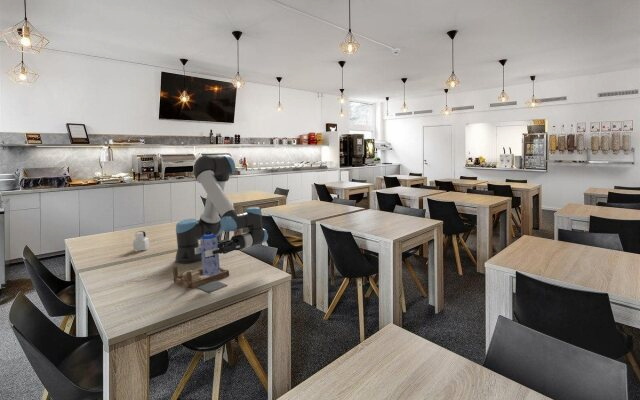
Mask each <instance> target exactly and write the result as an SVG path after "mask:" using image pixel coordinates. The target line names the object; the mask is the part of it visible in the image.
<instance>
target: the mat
mask: <svg viewBox="0 0 640 400" xmlns="http://www.w3.org/2000/svg"><path fill="white" fill-rule="evenodd" d="M225 287H228V284H227V283H224V282H221V281H218V280H214V281H211V282H209V283H206V284H203V285H200V286H198V287H196V289H199V290H202V291H204V292H206V293H208V294H210V293H212V292H215V291H218V290H220V289H223V288H225Z"/></svg>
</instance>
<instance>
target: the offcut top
mask: <svg viewBox="0 0 640 400" xmlns="http://www.w3.org/2000/svg"><path fill="white" fill-rule="evenodd" d="M188 271H190V272H191V276H192V280H193V279H196V278H198V277H201V275H200V272H199V271H196V270H194V269H193V270H192V269H190V270H187V271H185V272H183V273H182V275H183V278H184V279H187V273H186V272H188Z"/></svg>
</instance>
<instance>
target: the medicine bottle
mask: <svg viewBox="0 0 640 400" xmlns="http://www.w3.org/2000/svg"><path fill="white" fill-rule="evenodd" d="M134 236H135V237H134V238H135V239H133V240H132V245H133V251H134V252H136V251H135V250H146V249H147V248H148V249H150V241H149V240H150V239H149V237H146V236H147V235H146V231H144V230H143V231H142V230H140V231H136V232H135V233H134ZM148 249H147V250H148ZM147 250H146V251H147Z"/></svg>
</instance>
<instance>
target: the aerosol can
mask: <svg viewBox="0 0 640 400" xmlns="http://www.w3.org/2000/svg"><path fill="white" fill-rule="evenodd" d="M218 241H219V240H218V235H217V236H215V234H212V233H211V231H206V234H204V235H203V236H202V237H201V239H200V240H199V242H200V247H201V254H202V259H201V263H202V264H201V265H202V268H203V274H202V276H205V277H209V276H214V275H217V274H219V273H220V268H221V266H220V256H219V254H216V255H212V256H209V257H205V251H207V250H211V249H214V248H218ZM218 249H219V248H218Z"/></svg>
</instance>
